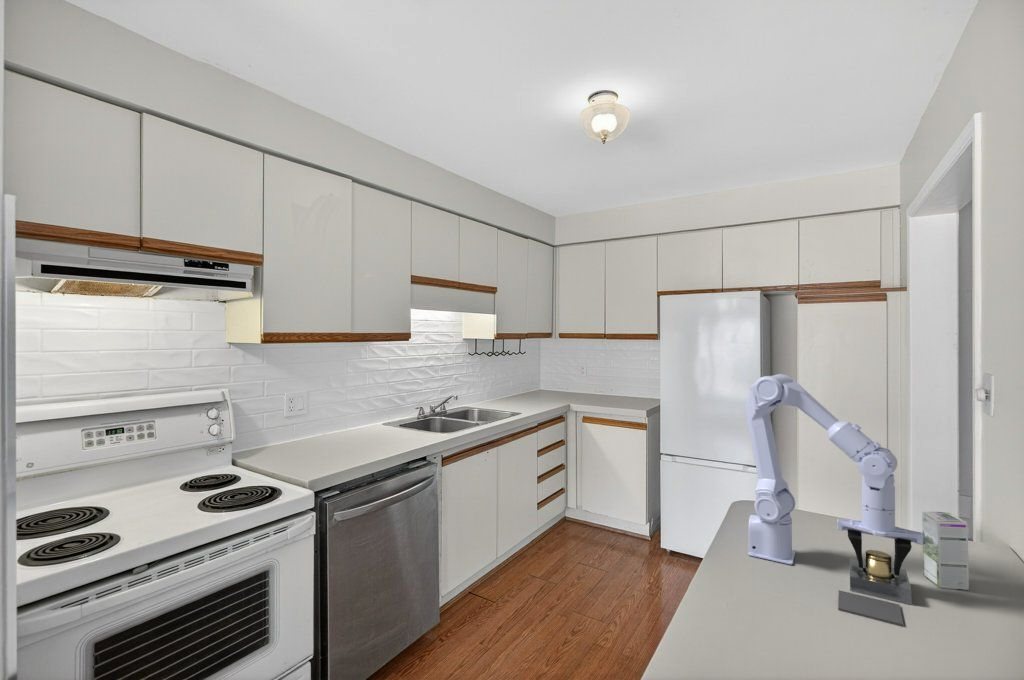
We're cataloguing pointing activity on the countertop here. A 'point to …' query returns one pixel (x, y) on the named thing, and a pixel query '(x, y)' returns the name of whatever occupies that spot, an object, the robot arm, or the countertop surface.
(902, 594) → the housing
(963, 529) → the syrup box
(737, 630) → the countertop surface
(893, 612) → the rubber mat
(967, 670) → the countertop surface
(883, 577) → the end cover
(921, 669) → the countertop surface
